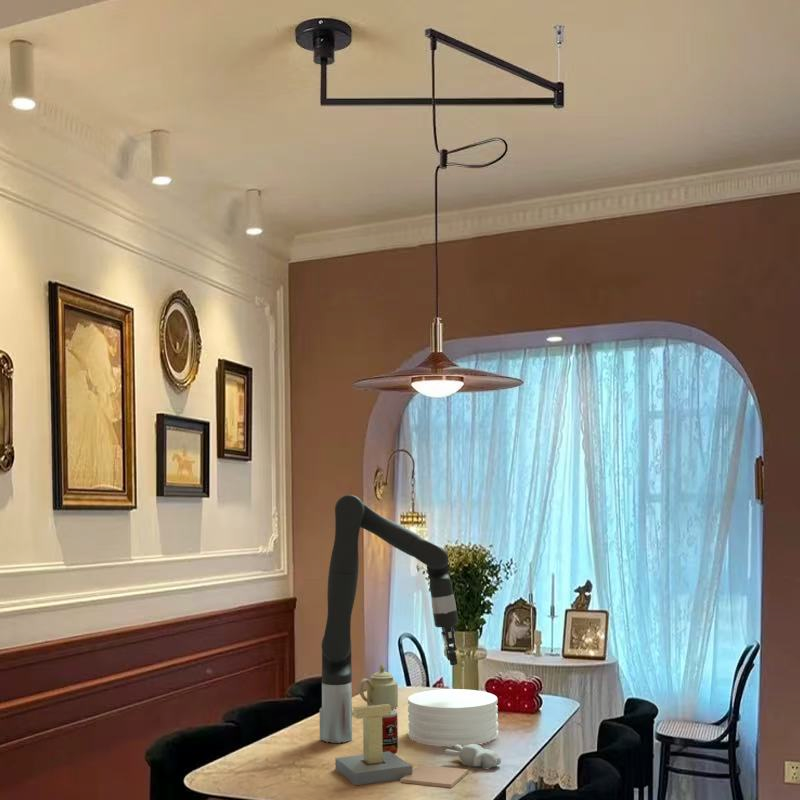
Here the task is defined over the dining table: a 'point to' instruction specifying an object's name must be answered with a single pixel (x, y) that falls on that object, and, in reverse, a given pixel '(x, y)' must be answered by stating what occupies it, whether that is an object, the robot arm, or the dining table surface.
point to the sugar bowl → (380, 689)
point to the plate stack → (452, 717)
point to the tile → (435, 776)
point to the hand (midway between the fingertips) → (452, 662)
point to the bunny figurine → (475, 755)
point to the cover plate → (372, 769)
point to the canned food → (390, 732)
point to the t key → (372, 731)
